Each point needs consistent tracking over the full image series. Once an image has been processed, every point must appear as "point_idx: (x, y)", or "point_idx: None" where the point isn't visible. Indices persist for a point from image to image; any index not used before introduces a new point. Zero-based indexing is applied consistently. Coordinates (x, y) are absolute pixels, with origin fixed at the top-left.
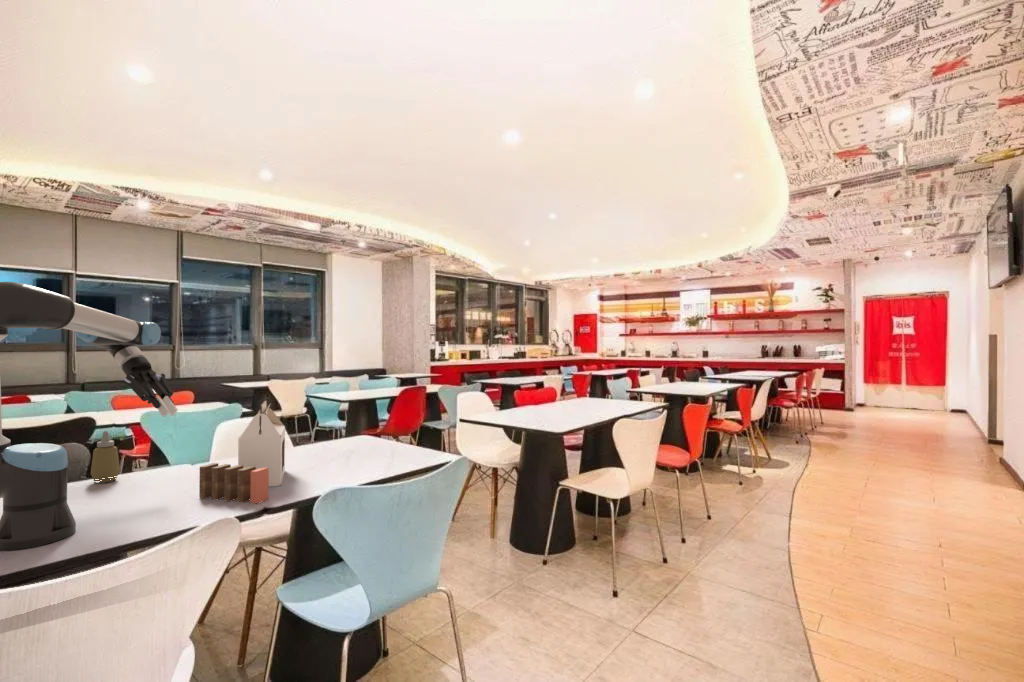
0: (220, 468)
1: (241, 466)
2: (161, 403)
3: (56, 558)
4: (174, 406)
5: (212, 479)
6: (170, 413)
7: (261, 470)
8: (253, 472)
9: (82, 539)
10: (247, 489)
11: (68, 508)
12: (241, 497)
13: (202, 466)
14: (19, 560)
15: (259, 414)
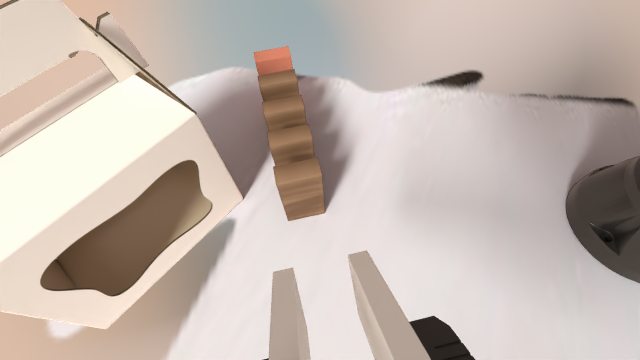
0: (299, 127)
1: (267, 102)
2: (403, 316)
3: (585, 110)
4: (280, 297)
5: (313, 155)
6: (307, 336)
7: (274, 49)
8: (289, 53)
9: (554, 154)
10: None
11: (614, 178)
12: None
13: (316, 169)
14: (634, 139)
15: (89, 24)
